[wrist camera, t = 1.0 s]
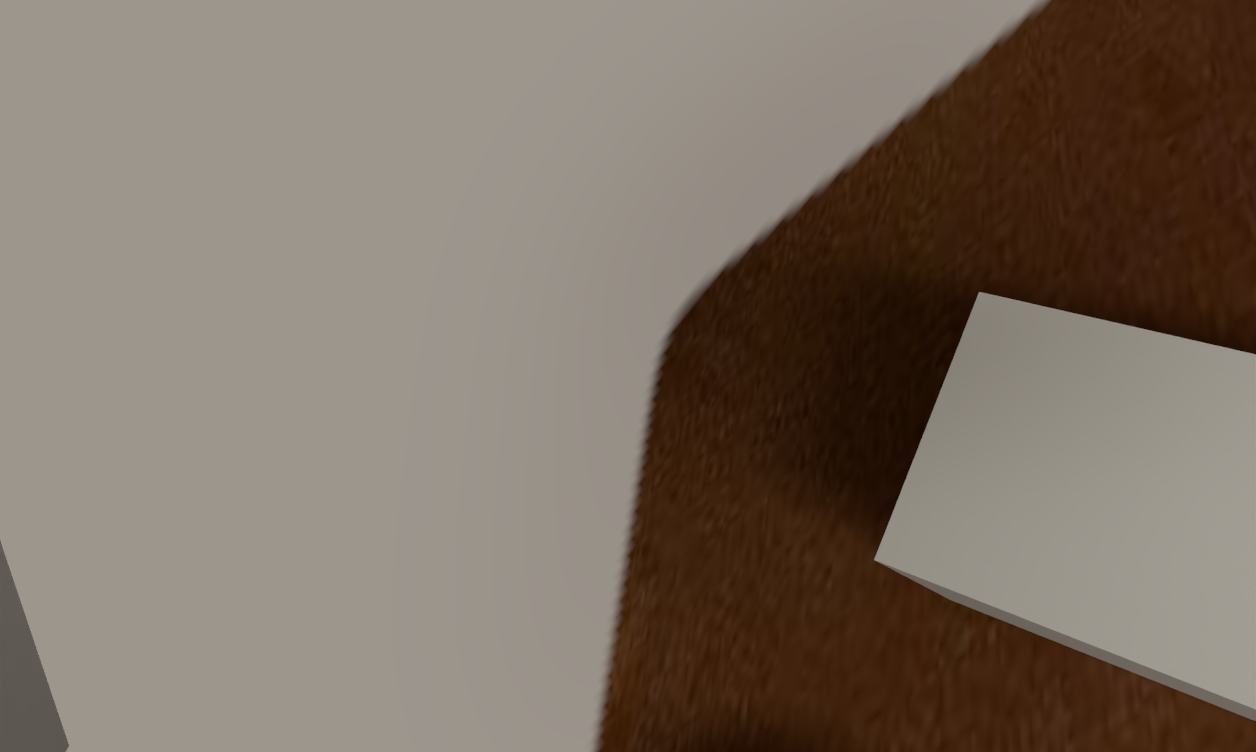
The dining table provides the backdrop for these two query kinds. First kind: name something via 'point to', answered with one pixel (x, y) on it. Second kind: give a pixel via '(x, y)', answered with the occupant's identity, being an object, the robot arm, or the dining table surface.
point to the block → (1094, 494)
